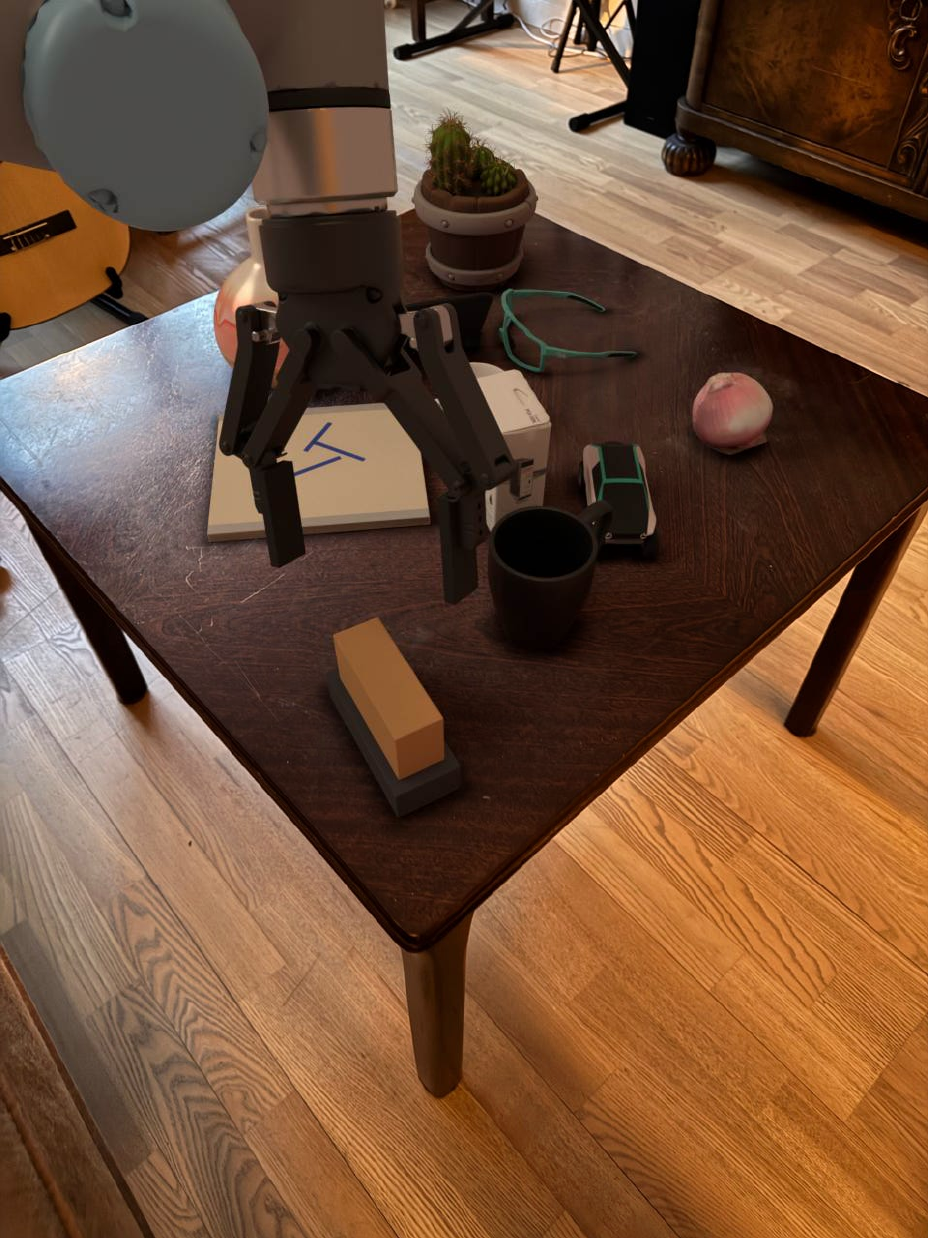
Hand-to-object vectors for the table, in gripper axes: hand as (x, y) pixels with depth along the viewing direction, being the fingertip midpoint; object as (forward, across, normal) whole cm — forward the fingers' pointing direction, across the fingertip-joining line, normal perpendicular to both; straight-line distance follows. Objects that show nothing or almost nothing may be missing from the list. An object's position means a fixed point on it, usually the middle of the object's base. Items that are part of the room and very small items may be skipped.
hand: (370, 577), depth 55 cm
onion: (+3, -9, -48) cm, 49 cm away
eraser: (+14, +2, -2) cm, 15 cm away
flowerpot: (-12, +28, -63) cm, 70 cm away
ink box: (+5, +6, -28) cm, 29 cm away
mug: (+11, -3, -19) cm, 22 cm away
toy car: (+7, -4, -32) cm, 33 cm away
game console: (-6, +26, -45) cm, 53 cm away
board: (+2, +23, -23) cm, 33 cm away
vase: (-4, +35, -34) cm, 49 cm away
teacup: (0, +14, -37) cm, 40 cm away
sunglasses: (-5, +12, -55) cm, 56 cm away
